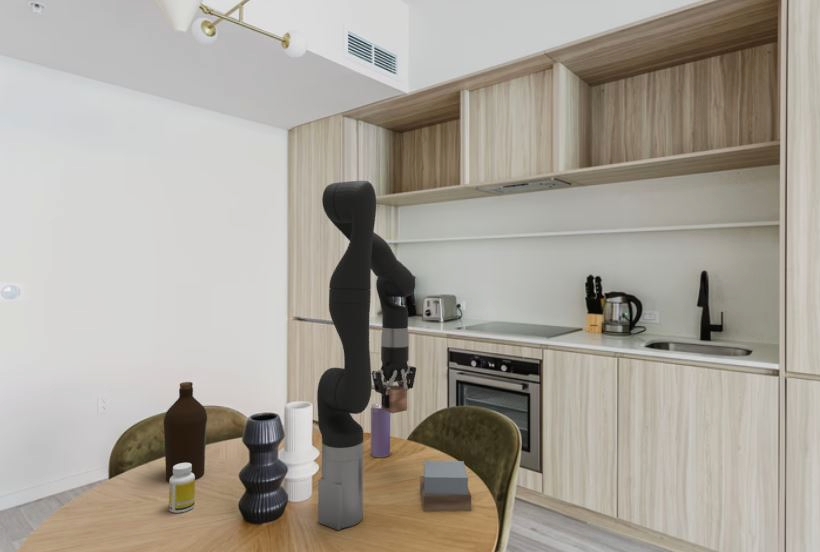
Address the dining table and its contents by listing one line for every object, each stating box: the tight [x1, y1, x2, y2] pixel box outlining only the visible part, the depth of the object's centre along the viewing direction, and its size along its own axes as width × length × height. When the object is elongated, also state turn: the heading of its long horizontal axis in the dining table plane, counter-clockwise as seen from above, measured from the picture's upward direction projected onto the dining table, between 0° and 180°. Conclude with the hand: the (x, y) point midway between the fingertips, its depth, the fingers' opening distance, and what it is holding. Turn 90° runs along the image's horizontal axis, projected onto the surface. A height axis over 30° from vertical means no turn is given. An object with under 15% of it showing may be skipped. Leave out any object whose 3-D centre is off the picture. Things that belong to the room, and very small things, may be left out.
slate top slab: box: [423, 460, 469, 495], centre depth 117 cm, size 10×10×4 cm
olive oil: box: [163, 381, 208, 482], centre depth 130 cm, size 11×11×25 cm
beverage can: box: [370, 402, 391, 459], centre depth 147 cm, size 6×6×15 cm
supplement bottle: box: [168, 463, 196, 514], centre depth 112 cm, size 5×5×10 cm
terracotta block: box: [381, 384, 408, 414], centre depth 132 cm, size 5×5×6 cm
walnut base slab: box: [419, 475, 472, 512], centre depth 117 cm, size 11×11×4 cm
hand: (394, 406), depth 132 cm, fingers closed on terracotta block, 5 cm apart
